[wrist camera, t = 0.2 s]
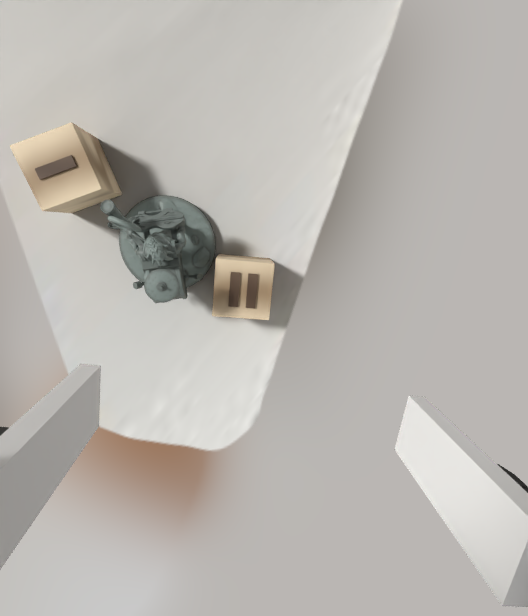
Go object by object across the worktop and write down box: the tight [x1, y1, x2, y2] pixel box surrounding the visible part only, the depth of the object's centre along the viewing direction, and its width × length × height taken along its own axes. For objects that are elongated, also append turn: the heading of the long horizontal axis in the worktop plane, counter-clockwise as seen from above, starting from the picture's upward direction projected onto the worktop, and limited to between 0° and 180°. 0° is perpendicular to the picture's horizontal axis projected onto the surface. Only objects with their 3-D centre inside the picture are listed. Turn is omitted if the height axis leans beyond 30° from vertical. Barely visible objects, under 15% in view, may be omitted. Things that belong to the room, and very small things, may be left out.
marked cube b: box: [212, 254, 275, 320], centre depth 38 cm, size 6×6×6 cm
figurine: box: [100, 195, 215, 303], centre depth 34 cm, size 11×11×12 cm
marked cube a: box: [10, 122, 122, 213], centre depth 34 cm, size 6×6×6 cm
